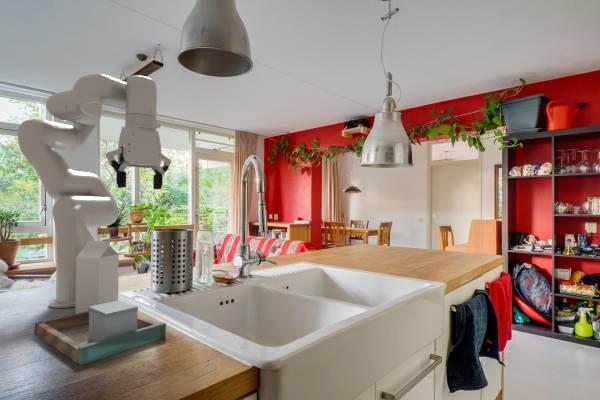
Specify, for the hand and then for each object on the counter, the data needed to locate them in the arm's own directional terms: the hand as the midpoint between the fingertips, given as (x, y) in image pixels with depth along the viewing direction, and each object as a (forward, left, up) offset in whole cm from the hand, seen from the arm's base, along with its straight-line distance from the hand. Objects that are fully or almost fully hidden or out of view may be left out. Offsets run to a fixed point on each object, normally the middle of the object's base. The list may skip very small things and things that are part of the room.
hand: (140, 188), depth 91 cm
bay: (+8, -13, -33) cm, 37 cm away
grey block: (+15, -13, -33) cm, 38 cm away
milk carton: (-11, -6, -33) cm, 36 cm away
